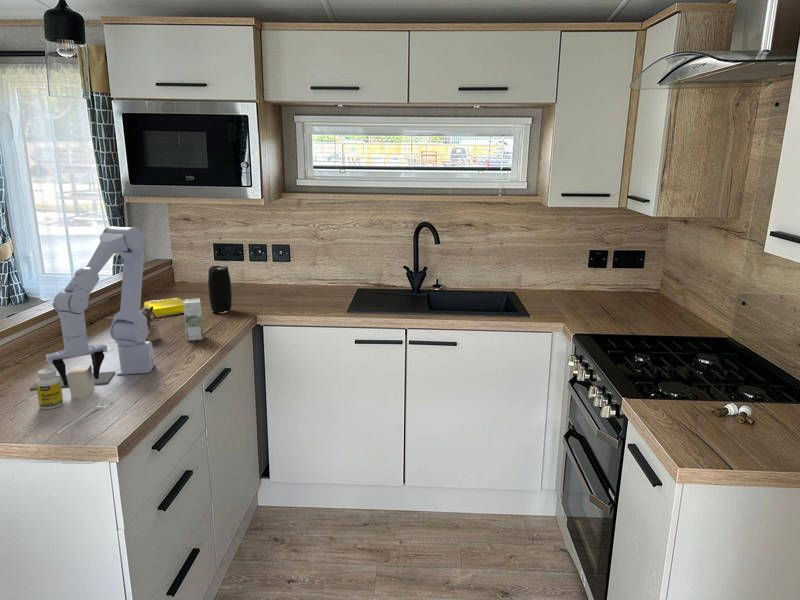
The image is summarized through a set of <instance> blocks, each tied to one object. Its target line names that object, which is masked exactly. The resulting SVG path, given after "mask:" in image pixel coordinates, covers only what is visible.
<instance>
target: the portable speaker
mask: <svg viewBox="0 0 800 600" xmlns="http://www.w3.org/2000/svg"><path fill="white" fill-rule="evenodd" d="M207 279H208V280H207V285H208V296H209V305H210V309H211V312H212V311H214V313H218V312H224V311H229V310H230V309H231V310H232V297H233V296H232V284H231V283H232V282H231V277H230V272H229V267H228V266H227V265H226V266H221V265H212V266H210V267H209V268H208V275H207ZM231 310H230V311H231ZM230 311H229V312H230Z"/></svg>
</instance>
